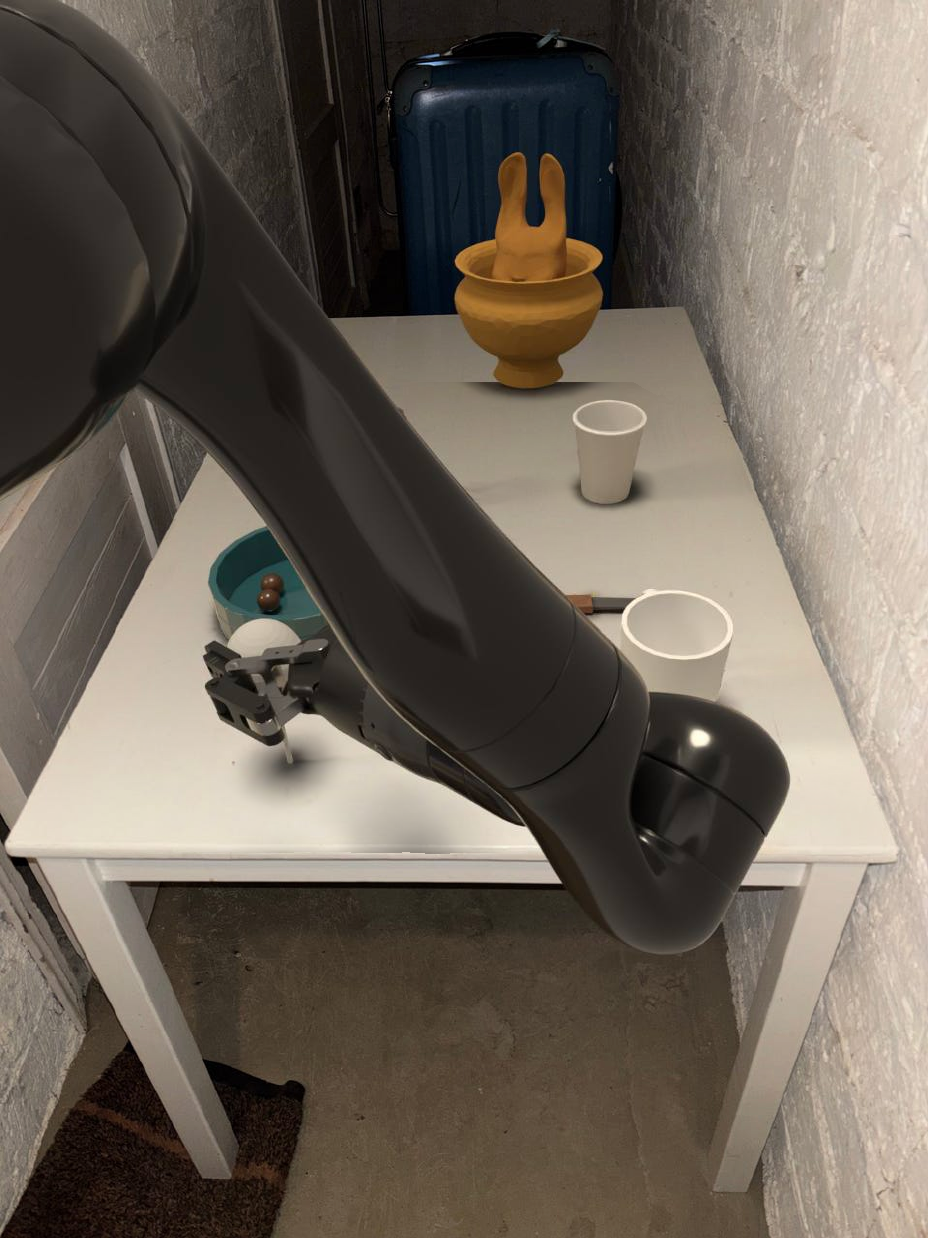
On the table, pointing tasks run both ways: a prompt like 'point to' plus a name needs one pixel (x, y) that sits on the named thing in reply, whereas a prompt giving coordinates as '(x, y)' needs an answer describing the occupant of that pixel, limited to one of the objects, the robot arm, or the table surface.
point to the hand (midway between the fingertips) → (266, 621)
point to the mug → (677, 642)
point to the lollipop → (257, 639)
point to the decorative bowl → (529, 282)
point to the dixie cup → (607, 448)
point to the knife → (598, 602)
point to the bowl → (241, 584)
